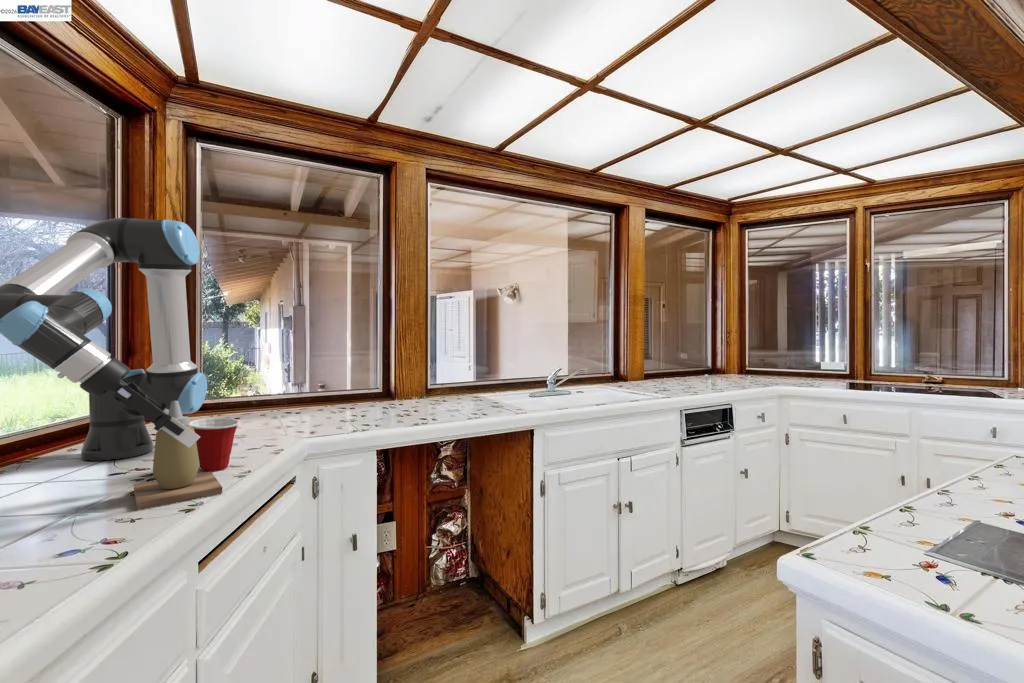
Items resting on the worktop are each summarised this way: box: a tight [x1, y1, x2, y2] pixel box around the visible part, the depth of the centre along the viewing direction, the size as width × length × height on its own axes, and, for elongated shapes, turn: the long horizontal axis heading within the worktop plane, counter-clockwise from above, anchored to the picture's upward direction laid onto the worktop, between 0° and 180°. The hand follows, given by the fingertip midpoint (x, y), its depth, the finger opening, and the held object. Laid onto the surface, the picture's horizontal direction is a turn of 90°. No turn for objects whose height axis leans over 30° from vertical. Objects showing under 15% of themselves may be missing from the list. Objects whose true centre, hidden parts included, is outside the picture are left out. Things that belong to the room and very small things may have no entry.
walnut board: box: [133, 471, 223, 511], centre depth 98 cm, size 14×14×2 cm
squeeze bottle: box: [152, 401, 200, 489], centre depth 97 cm, size 8×8×18 cm
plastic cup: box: [189, 417, 241, 473], centre depth 115 cm, size 11×11×12 cm
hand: (190, 436), depth 99 cm, fingers open, 13 cm apart
